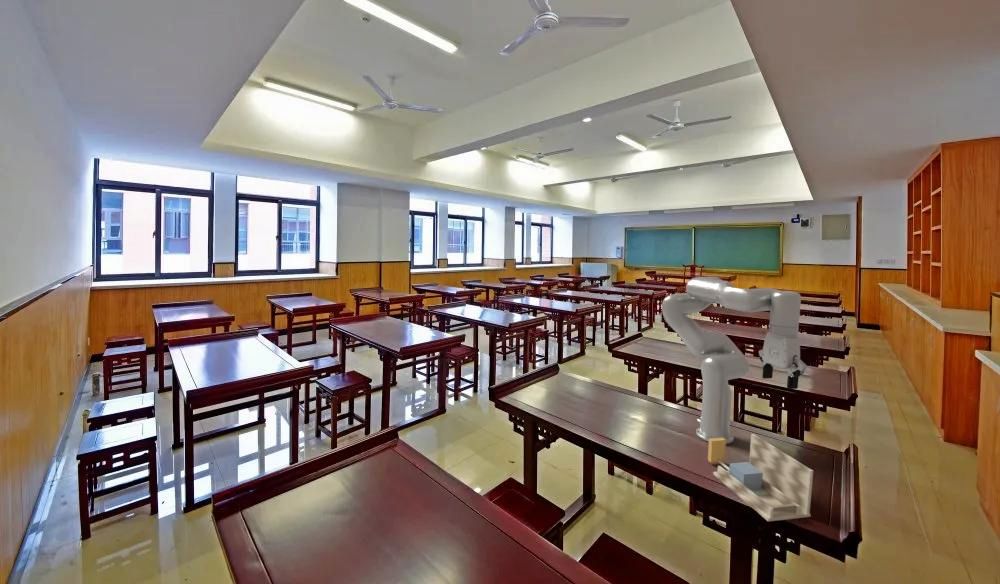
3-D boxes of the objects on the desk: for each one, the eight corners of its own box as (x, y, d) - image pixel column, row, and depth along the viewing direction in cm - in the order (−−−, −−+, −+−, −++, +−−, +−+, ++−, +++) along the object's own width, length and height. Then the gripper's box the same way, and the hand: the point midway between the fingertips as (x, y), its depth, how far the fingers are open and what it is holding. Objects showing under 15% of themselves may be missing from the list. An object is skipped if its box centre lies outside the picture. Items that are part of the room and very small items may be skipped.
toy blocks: (706, 460, 135) (707, 438, 134) (722, 458, 136) (724, 437, 135) (743, 490, 119) (744, 466, 118) (761, 488, 119) (763, 464, 118)
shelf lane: (713, 474, 129) (715, 435, 127) (748, 470, 130) (751, 432, 129) (768, 521, 107) (771, 475, 105) (810, 516, 109) (814, 471, 107)
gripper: (751, 325, 135) (748, 375, 137) (796, 337, 118) (791, 393, 120) (772, 324, 136) (768, 373, 138) (819, 336, 119) (814, 392, 121)
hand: (779, 383), depth 129 cm, fingers open, 9 cm apart
